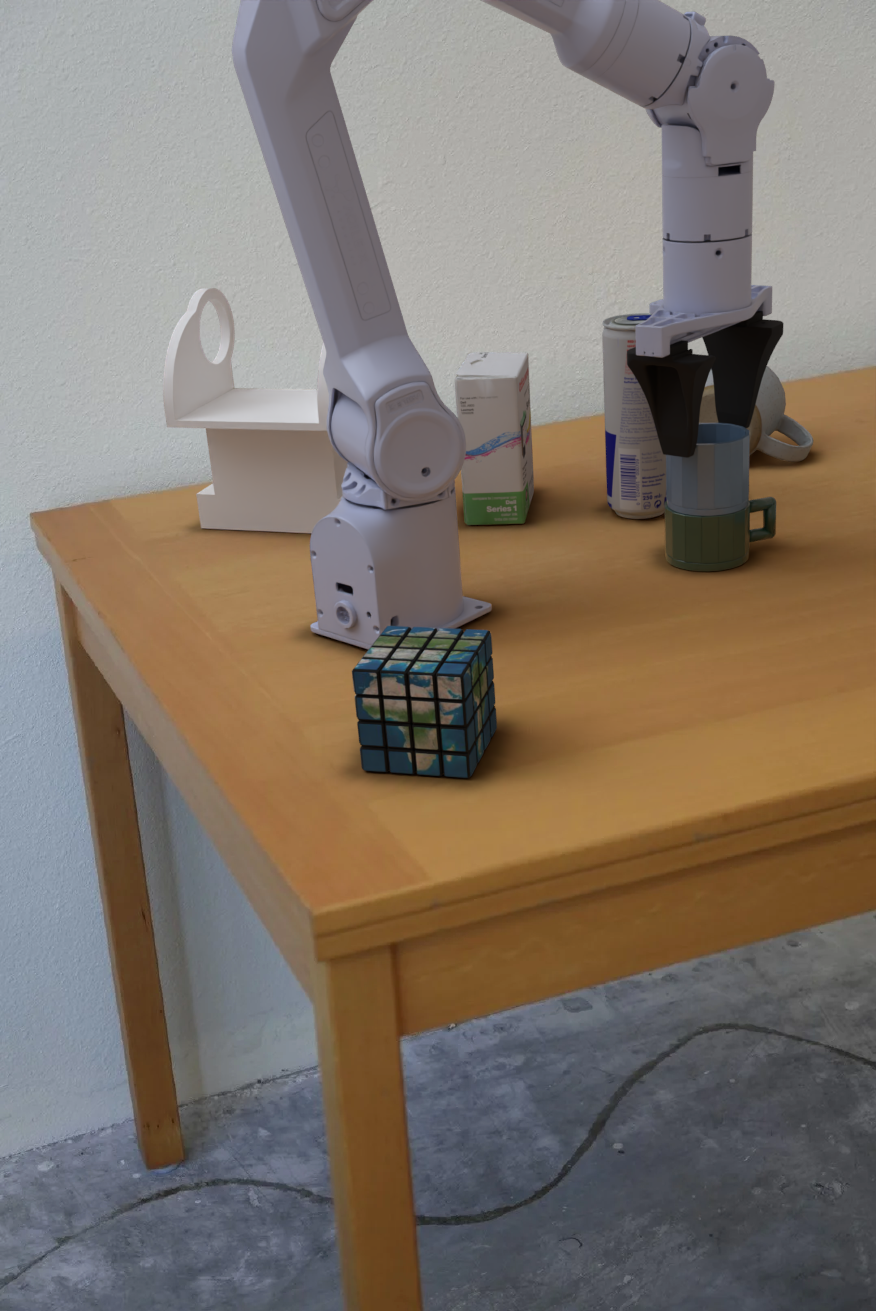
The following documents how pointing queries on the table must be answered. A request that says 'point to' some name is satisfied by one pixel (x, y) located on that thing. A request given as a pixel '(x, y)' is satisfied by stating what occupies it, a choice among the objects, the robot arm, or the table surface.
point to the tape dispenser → (251, 434)
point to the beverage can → (629, 429)
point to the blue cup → (711, 473)
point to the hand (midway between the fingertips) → (706, 440)
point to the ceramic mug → (765, 420)
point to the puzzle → (425, 701)
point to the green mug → (716, 536)
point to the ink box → (495, 437)
